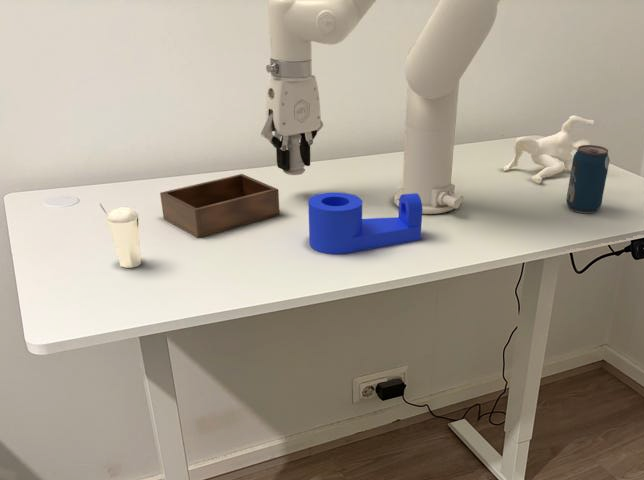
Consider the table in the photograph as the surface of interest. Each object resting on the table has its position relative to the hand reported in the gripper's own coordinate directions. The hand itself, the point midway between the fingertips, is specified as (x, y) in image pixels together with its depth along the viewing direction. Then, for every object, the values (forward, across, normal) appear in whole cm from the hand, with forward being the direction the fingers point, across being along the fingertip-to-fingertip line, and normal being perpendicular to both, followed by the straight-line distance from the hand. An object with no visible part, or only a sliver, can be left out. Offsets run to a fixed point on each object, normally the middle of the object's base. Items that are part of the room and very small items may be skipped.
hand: (293, 165), depth 144 cm
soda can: (+6, +40, -42) cm, 58 cm away
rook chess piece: (+2, 0, 0) cm, 2 cm away
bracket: (+6, -5, -26) cm, 27 cm away
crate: (+6, -18, -1) cm, 19 cm away
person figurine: (+6, +54, -24) cm, 60 cm away
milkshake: (+6, -41, -9) cm, 42 cm away
